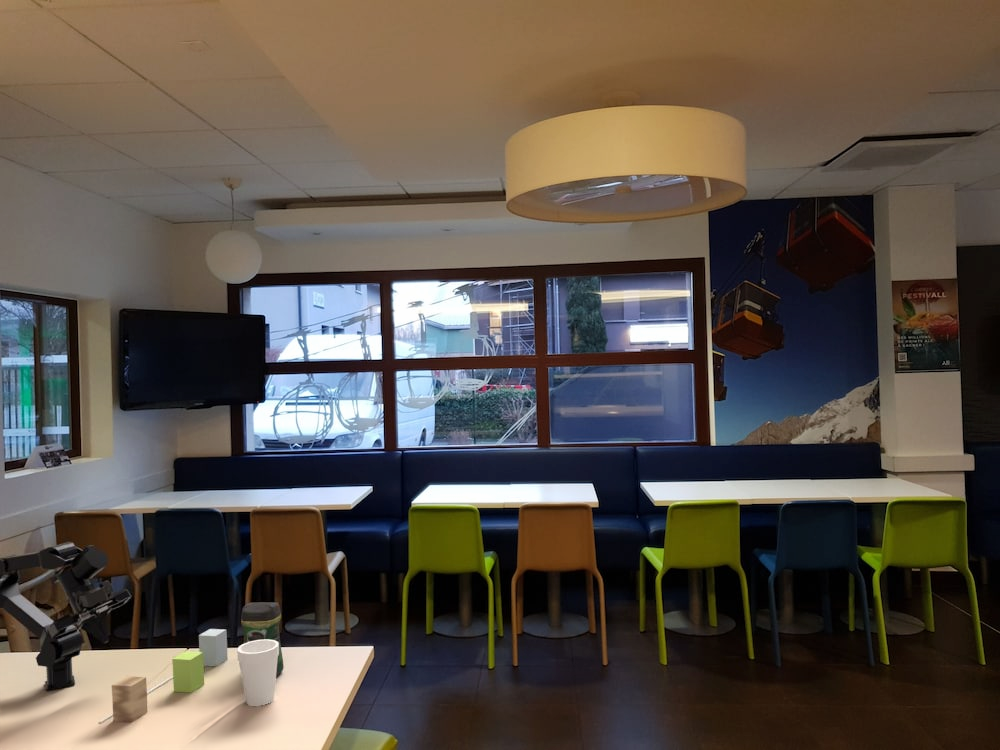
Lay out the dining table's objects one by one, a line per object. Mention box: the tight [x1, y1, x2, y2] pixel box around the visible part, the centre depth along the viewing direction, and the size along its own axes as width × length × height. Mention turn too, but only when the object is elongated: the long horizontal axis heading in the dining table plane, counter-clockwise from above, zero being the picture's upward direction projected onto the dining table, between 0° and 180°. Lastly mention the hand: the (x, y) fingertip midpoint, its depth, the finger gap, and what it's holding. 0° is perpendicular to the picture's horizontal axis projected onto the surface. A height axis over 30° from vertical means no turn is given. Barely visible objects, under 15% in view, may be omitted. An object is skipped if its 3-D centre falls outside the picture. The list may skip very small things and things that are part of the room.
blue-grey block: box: [198, 628, 229, 667], centre depth 205 cm, size 5×5×8 cm
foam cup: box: [237, 639, 279, 707], centre depth 183 cm, size 10×9×13 cm
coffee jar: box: [240, 601, 284, 677], centre depth 199 cm, size 10×8×19 cm
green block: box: [172, 651, 205, 694], centre depth 189 cm, size 5×5×8 cm
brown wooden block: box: [111, 675, 149, 723], centre depth 174 cm, size 5×5×8 cm
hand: (106, 642), depth 192 cm, fingers closed
